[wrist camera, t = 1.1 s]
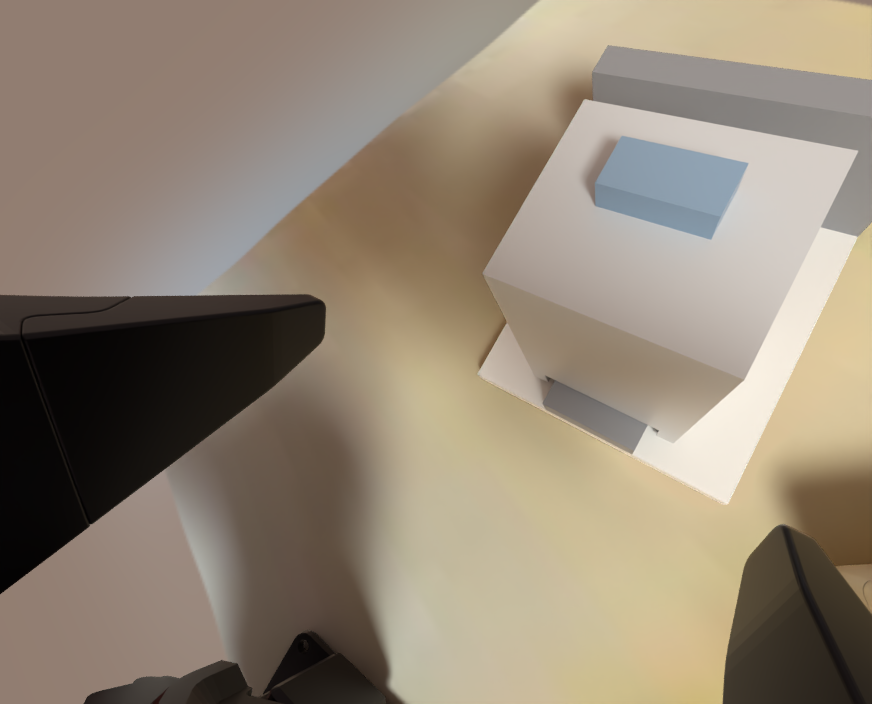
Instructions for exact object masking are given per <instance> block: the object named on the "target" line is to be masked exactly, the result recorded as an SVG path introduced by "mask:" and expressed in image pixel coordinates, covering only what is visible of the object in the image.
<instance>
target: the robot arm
mask: <svg viewBox="0 0 872 704" xmlns="http://www.w3.org/2000/svg"><path fill="white" fill-rule="evenodd" d="M325 318H326V306H325V303H324V302H323V301H322V300H320V299H318V298H316V297H313V296H311V295H308V294H298V295H213V296H134V297H132V298H131V297H129V296H127V297H126V296H125V297H124V296H123V297H65V296H64V297H63V296H19V295H18V296H16V295H0V594H1V593H2V592H4V591H5V590H6V589H8V588H9V587H10V586H12V585H13V584H14V583H16V582H17V581H18V580H19V579H21V578H22V577H24V576H25V575H26V574H28V573H29V572H30V571H32V570H33V569H34V568H36V567H37V566H38V565H39V564H41V563H42V562H43V561H45V560H46V559H47V558H49V557H50V556H51V555H53V554H54V553H55V552H57V551H58V550H59V549H61V548H62V547H63V546H65V545H66V544H67V543H68V542H70V541H71V540H72V539H74V538H75V537H76V536H78V535H79V534H80V533H82V532H83V531H84V530H86V529H87V528H88V527H89V526H90V524H93V523H94V522H96V521H97V520H98V519H100V518H101V517H102V516H104V515H105V514H106V513H107V512H109V511H110V510H111V509H113V508H114V507H115V506H117V505H118V504H119V503H121V502H122V501H123V500H125V499H126V498H127V497H129V496H130V495H131V494H133V493H134V492H135V491H137V490H138V489H139V488H141V487H142V486H143V485H145V484H146V483H147V482H148V481H150V480H151V479H152V478H154V477H155V476H156V475H158V474H159V473H160V472H162V471H163V470H164V469H166V468H167V467H168V466H170V465H171V464H172V463H174V462H175V461H176V460H178V459H179V458H180V457H182V456H183V455H184V454H185V453H187V452H188V451H189V450H191V449H192V448H193V447H195V446H196V445H197V444H199V443H200V442H201V441H203V440H204V439H205V438H207V437H208V436H209V435H211V434H212V433H213V432H215V431H216V430H217V429H219V428H220V427H221V426H222V425H224V424H225V423H226V422H228V421H229V420H230V419H232V418H233V417H234V416H236V415H237V414H238V413H240V412H241V411H242V410H244V409H245V408H246V407H248V406H249V405H250V404H252V403H253V402H254V401H256V400H257V399H258V398H259V397H261V396H262V395H263V394H265V393H266V392H267V391H269V390H270V389H271V388H272V387H274V386H275V385H276V384H277V383H278V382H279V381H281V380H282V379H283V378H284V377H285V376H286V375H287V374H288V373H289V372H290V371H291V370H292V369H294V368H295V367H296V366H297V365H298V364H299V363H300V362H301V361H302V360H303V359H304V358H305V357H307V356H308V355H309V354H310V353H311V352H312V351H313V350H314V349H315V348H316V347H317V346H318V345H319V344H320V343H321V342H322V340H323V338H324V335H325ZM304 640H306V641H307V642H308V646H309V648H308V651H307V650H305V648H304ZM251 693H252V688H251V687H248V685H247V683H246V681H245V679H244V677H243V675H242V672H241V670H240V668H239V666H238V664H237V663H232V662H227V661H223V660H221V661H218V662H216V663H214V664H211V665H208V666H206V667H203V668H201V669H198V670H196V671H194V672H191V673H189V674H187V675H185V676H183V677H182V678H176V677H171V676H163V677H142V678H139V679H136V680H135V681H134V682H133V683H132V684H128V685H124V686H120V687H115V688H111V689H106V690H102V691H99V692H95V693H92V694H91V695H89V696H88V697H87V698H86V700H85V702H84V704H387V703H386V699H385V696H384V695H383V694H382V693H381V692H380V691H379V690H378V689H377V688H376V687H375V686H374V685H373V684H372V683H371V682H370V681H369V680H367V679H366V678H365V677H364V676H363V675H362V674H361V673H360V672H359V671H358V670H357V669H356V668H355V667H354V666H353V665H352V664H351V663H350V662H349V661H348V660H347V659H346V658H345V657H344V656H343V655H342V654H341V653H338V654H336V653H335V652H334V651H333V650H332V649H331V648H330V647H329V646H328V645H327V644H326V643H325V642H324V641H323V640H322V639H321V638H320V637H319V636H318V635H317V634H316V633H314V632H313V631H305V632H303V633H301V634H299V635H298V636H297V637H296V638H295V639H294V641H293V643H292V645H291V646H290V648H289V650H288V651H287V653H286V655H285V657H284V658H283V660H282V662H281V664H280V665H279V667H278V669H277V670H276V672H275V674H274V676H273V677H272V679H271V681H270V683H269V684H268V686H267V688H266V689H265V691H264V693H263V695H261V696H260V697H254V696H251ZM723 704H872V614H871V612H870V611H869V610H868V609H867V607H866V606H865V605H864V603H863V602H862V601H861V599H860V598H859V597H858V595H857V594H856V593H855V591H854V590H853V589H852V588H851V586H850V585H849V584H848V582H847V581H846V580H845V578H844V577H843V576H842V574H841V573H840V572H839V570H838V569H837V568H836V567H835V565H834V564H833V563H832V561H831V560H830V559H829V557H828V556H827V555H826V553H825V552H824V551H823V549H822V548H821V547H820V545H819V544H818V543H817V542H816V540H815V539H813V538H812V537H811V536H809V535H807V534H804V533H802V532H800V531H798V530H796V529H794V528H792V527H790V526H788V525H785V524H781V525H778V526H776V527H775V528H774V529H773V530H772V531H771V532H770V533H769V534H768V535H767V536H766V538H765V539H764V540H763V541H762V542H761V543H760V544H759V546H758V547H757V548H756V549H755V550H754V551H753V552H752V554H751V555H750V556H749V558H748V559H747V561H746V564H745V566H744V570H743V575H742V580H741V584H740V589H739V594H738V599H737V604H736V609H735V614H734V619H733V624H732V629H731V634H730V639H729V644H728V650H727V655H726V663H725V674H724V689H723Z"/></svg>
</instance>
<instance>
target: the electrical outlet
mask: <svg viewBox="0 0 872 704" xmlns="http://www.w3.org/2000/svg"><path fill="white" fill-rule="evenodd" d="M835 567H836V568H837V569H838V570H839V572H840V573H841V574H842V576H843V577H844V578H845V580H846V581H847V582H848V584H849V585H850V586H851V588H852V589H853V590H854V591H855V593H856V594H857V595H858V597H859V598H860V599H861V601H862V602H863V603H864V605H865V606H866V607H867V609H868V610H869V611H870V612H871V614H872V564H860V565H845V566H835Z"/></svg>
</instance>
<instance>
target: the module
mask: <svg viewBox="0 0 872 704" xmlns="http://www.w3.org/2000/svg"><path fill="white" fill-rule="evenodd" d="M857 153H858V151H857V150H851V149H846V148H841V147H835V146H830V145H825V144H819V143H814V142H809V141H804V140H798V139H793V138H788V137H782V136H777V135H772V134H766V133H761V132H756V131H751V130H745V129H740V128H735V127H729V126H724V125H719V124H713V123H708V122H703V121H698V120H692V119H687V118H682V117H676V116H671V115H666V114H661V113H655V112H650V111H645V110H639V109H634V108H629V107H623V106H618V105H613V104H608V103H602V102H597V101H592V100H586V99H584V101H583V102H582V104H581V106H580V108H579V109H578V111H577V113H576V114H575V116H574V118H573V120H572V121H571V123H570V125H569V126H568V128H567V130H566V131H565V133H564V135H563V137H562V138H561V140H560V142H559V143H558V145H557V147H556V148H555V150H554V152H553V154H552V155H551V157H550V159H549V160H548V162H547V164H546V166H545V167H544V169H543V171H542V172H541V174H540V176H539V177H538V179H537V181H536V183H535V184H534V186H533V188H532V189H531V191H530V193H529V194H528V196H527V198H526V200H525V201H524V203H523V205H522V206H521V208H520V210H519V212H518V213H517V215H516V217H515V218H514V220H513V222H512V223H511V225H510V227H509V229H508V230H507V232H506V234H505V235H504V237H503V239H502V240H501V242H500V244H499V246H498V247H497V249H496V251H495V252H494V254H493V256H492V258H491V259H490V261H489V263H488V264H487V266H486V268H485V269H484V271H483V273H482V274H483V276H484V278H485V280H486V282H487V284H488V286H489V288H490V290H491V292H492V294H493V296H494V298H495V300H496V302H497V304H498V305H499V307H500V309H501V311H502V313H503V315H504V317H505V319H506V321H507V323H508V325H509V327H510V329H511V331H512V333H513V335H514V337H515V339H516V340H517V342H518V344H519V346H520V348H521V350H522V352H523V354H524V356H525V358H526V360H527V362H528V364H529V366H530V368H531V370H532V372H533V374H534V375H535V376H536V377H538V378H540V379H542V380H544V381H546V382H549V380H550V378H552V379H554V380H556V381H558V382H560V383H562V384H564V385H566V386H568V387H570V388H572V389H574V390H576V391H578V392H581V393H583V394H585V395H587V396H589V397H591V398H593V399H595V400H597V401H599V402H601V403H603V404H605V405H607V406H609V407H611V408H614V409H616V410H618V411H620V412H622V413H624V414H626V415H628V416H630V417H632V418H634V419H636V420H638V421H640V422H642V423H645V424H647V425H649V426H651V427H653V428H655V429H657V430H659V431H658V433H657V435H656V436H658V437H661V438H663V439H665V440H667V441H669V442H671V443H675V442H676V441H677V440H678V439H679V438H680V437H681V436H682V435H683V434H685V433H686V432H687V431H688V430H689V429H690V428H691V427H692V426H694V425H695V424H696V423H697V422H698V421H699V420H700V419H701V418H702V417H704V416H705V415H706V414H707V413H708V412H709V411H710V410H711V409H712V408H714V407H715V406H716V405H717V404H718V403H719V402H720V401H721V400H723V399H724V398H725V397H726V396H727V395H728V394H729V393H730V392H731V391H733V390H734V389H735V388H736V387H737V386H738V385H739V384H740V383H742V382H743V381H744V380H745V378H746V376H747V374H748V372H749V370H750V368H751V366H752V364H753V362H754V360H755V358H756V356H757V354H758V352H759V350H760V348H761V346H762V344H763V342H764V340H765V338H766V336H767V334H768V332H769V330H770V328H771V326H772V324H773V322H774V320H775V318H776V316H777V314H778V312H779V310H780V308H781V306H782V304H783V302H784V300H785V298H786V296H787V294H788V292H789V290H790V288H791V286H792V284H793V282H794V280H795V277H796V275H797V273H798V271H799V269H800V267H801V265H802V263H803V261H804V259H805V257H806V255H807V253H808V251H809V249H810V247H811V245H812V243H813V241H814V239H815V237H816V235H817V233H818V231H819V229H820V227H821V225H822V223H823V221H824V219H825V217H826V215H827V213H828V211H829V209H830V207H831V205H832V203H833V201H834V199H835V197H836V195H837V193H838V191H839V189H840V187H841V185H842V183H843V181H844V179H845V177H846V175H847V173H848V171H849V169H850V167H851V165H852V163H853V161H854V159H855V157H856V155H857Z"/></svg>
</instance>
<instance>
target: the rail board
mask: <svg viewBox="0 0 872 704" xmlns="http://www.w3.org/2000/svg"><path fill="white" fill-rule="evenodd" d="M592 84H593V101H597V102H602V103H608V104H613V105H618V106H623V107H629V108H634V109H639V110H645V111H650V112H655V113H661V114H666V115H671V116H676V117H682V118H687V119H692V120H698V121H703V122H708V123H713V124H719V125H724V126H729V127H735V128H740V129H745V130H751V131H756V132H761V133H766V134H772V135H777V136H782V137H788V138H793V139H798V140H804V141H809V142H814V143H819V144H825V145H830V146H835V147H841V148H846V149H851V150H857V151H858V153H857V155H856V157H855V159H854V161H853V163H852V165H851V167H850V169H849V171H848V173H847V175H846V177H845V179H844V181H843V183H842V185H841V187H840V189H839V191H838V193H837V195H836V197H835V199H834V201H833V203H832V205H831V207H830V209H829V211H828V213H827V215H826V217H825V219H824V221H823V223H822V225H821V227H820V229H819V231H818V233H817V235H816V237H815V239H814V241H813V243H812V245H811V247H810V249H809V251H808V253H807V255H806V257H805V259H804V261H803V263H802V265H801V267H800V269H799V271H798V273H797V275H796V277H795V280H794V282H793V284H792V286H791V288H790V290H789V292H788V294H787V296H786V298H785V300H784V302H783V304H782V306H781V308H780V310H779V312H778V314H777V316H776V318H775V320H774V322H773V324H772V326H771V328H770V330H769V332H768V334H767V336H766V338H765V340H764V342H763V344H762V346H761V348H760V350H759V352H758V354H757V356H756V358H755V360H754V362H753V364H752V366H751V368H750V370H749V372H748V374H747V376H746V378H745V380H744V381H743V382H742V383H740V384H739V385H738V386H737V387H736V388H735V389H734V390H733V391H731V392H730V393H729V394H728V395H727V396H726V397H725V398H724V399H723V400H721V401H720V402H719V403H718V404H717V405H716V406H715V407H714V408H712V409H711V410H710V411H709V412H708V413H707V414H706V415H705V416H704V417H702V418H701V419H700V420H699V421H698V422H697V423H696V424H695V425H694V426H692V427H691V428H690V429H689V430H688V431H687V432H686V433H685V434H683V435H682V436H681V437H680V438H679V439H678V440H677V441H676V442H675V443H671V442H669V441H667V440H665V439H663V438H661V437H658V436H656V435H657V433H658V431H659V430H657V429H655V428H653V427H651V426H649V425H647V424H645V423H642V422H640V421H638V420H636V419H634V418H632V417H630V416H628V415H626V414H624V413H622V412H620V411H618V410H616V409H614V408H611V407H609V406H607V405H605V404H603V403H601V402H599V401H597V400H595V399H593V398H591V397H589V396H587V395H585V394H583V393H581V392H578V391H576V390H574V389H572V388H570V387H568V386H566V385H564V384H562V383H560V382H558V381H556V380H554V379H552V378H550V380H549V382H546V381H544V380H542V379H540V378H538V377H536V376H535V375H534V374H533V372H532V370H531V368H530V366H529V364H528V362H527V360H526V358H525V356H524V354H523V352H522V350H521V348H520V346H519V344H518V342H517V340H516V339H515V337H514V335H513V333H512V331H511V329H510V327H509V325H508V323H506V325H505V327H504V328H503V330H502V332H501V334H500V335H499V337H498V339H497V341H496V342H495V344H494V346H493V348H492V349H491V351H490V353H489V355H488V356H487V358H486V360H485V362H484V363H483V365H482V367H481V369H480V370H479V372H478V375H479V377H480V378H481V379H483V380H485V381H487V382H489V383H491V384H493V385H494V386H496V387H498V388H500V389H502V390H504V391H506V392H508V393H510V394H512V395H514V396H515V397H517V398H519V399H521V400H523V401H525V402H527V403H529V404H531V405H533V406H535V407H537V408H538V409H540V410H542V411H544V412H546V413H548V414H550V415H552V416H554V417H556V418H558V419H560V420H561V421H563V422H565V423H567V424H569V425H571V426H573V427H575V428H577V429H579V430H581V431H582V432H584V433H586V434H588V435H590V436H592V437H594V438H596V439H598V440H600V441H602V442H604V443H605V444H607V445H609V446H611V447H613V448H615V449H617V450H619V451H621V452H623V453H625V454H626V455H628V456H630V457H632V458H634V459H636V460H638V461H640V462H642V463H644V464H646V465H648V466H649V467H651V468H653V469H655V470H657V471H659V472H661V473H663V474H665V475H667V476H669V477H670V478H672V479H674V480H676V481H678V482H680V483H682V484H684V485H686V486H688V487H690V488H692V489H693V490H695V491H697V492H699V493H701V494H703V495H705V496H707V497H709V498H711V499H713V500H715V501H716V502H718V503H720V504H728V503H729V501H730V499H731V497H732V495H733V493H734V490H735V488H736V486H737V484H738V482H739V480H740V478H741V476H742V474H743V472H744V470H745V468H746V466H747V464H748V462H749V460H750V458H751V456H752V453H753V451H754V449H755V447H756V445H757V443H758V441H759V439H760V437H761V435H762V433H763V431H764V429H765V427H766V425H767V423H768V421H769V419H770V416H771V414H772V412H773V410H774V408H775V406H776V404H777V402H778V400H779V398H780V396H781V394H782V392H783V390H784V388H785V386H786V384H787V382H788V379H789V377H790V375H791V373H792V371H793V369H794V367H795V365H796V363H797V361H798V359H799V357H800V355H801V353H802V351H803V349H804V347H805V345H806V342H807V340H808V338H809V336H810V334H811V332H812V330H813V328H814V326H815V324H816V322H817V320H818V318H819V316H820V314H821V312H822V310H823V308H824V305H825V303H826V301H827V299H828V297H829V295H830V293H831V291H832V289H833V287H834V285H835V283H836V281H837V279H838V277H839V275H840V273H841V271H842V268H843V266H844V264H845V262H846V260H847V258H848V256H849V254H850V252H851V250H852V248H853V246H854V244H855V242H856V240H857V238H858V236H859V235H860V234H861V233H862V232H863V231H864V230H865V229H866V228H867V227H868V226H869V225H870V223H871V222H872V80H867V79H860V78H852V77H844V76H837V75H829V74H822V73H814V72H807V71H799V70H791V69H784V68H776V67H769V66H761V65H753V64H746V63H738V62H731V61H723V60H716V59H708V58H700V57H693V56H685V55H678V54H670V53H662V52H655V51H647V50H640V49H632V48H624V47H617V46H609V45H608V46H607V48H606V49H605V51H604V53H603V55H602V56H601V58H600V60H599V61H598V63H597V65H596V66H595V68H594V70H593V72H592Z"/></svg>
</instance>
